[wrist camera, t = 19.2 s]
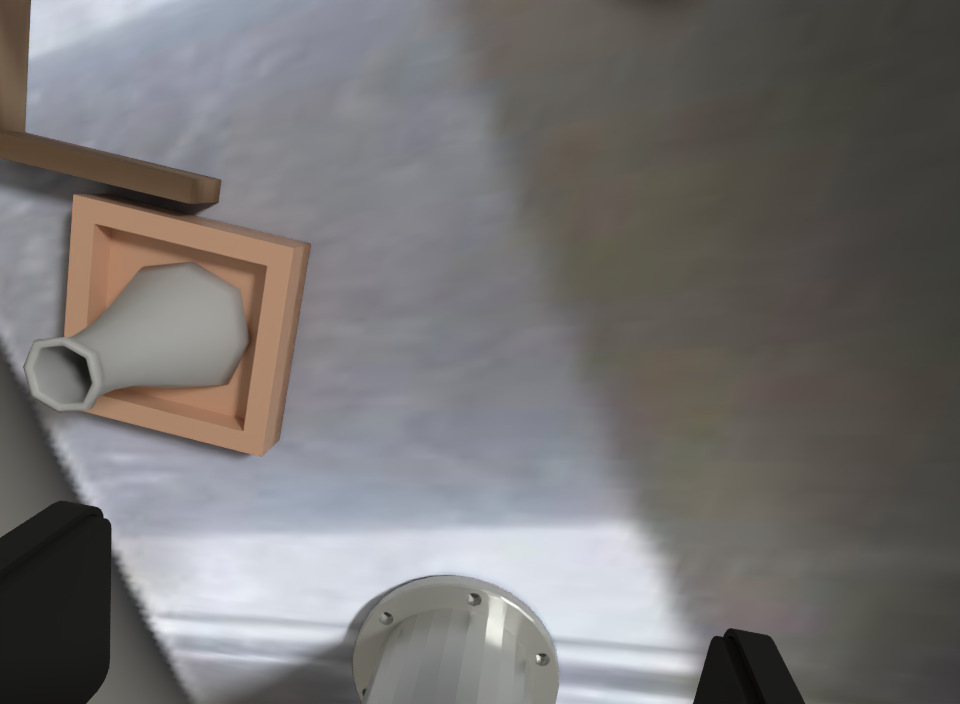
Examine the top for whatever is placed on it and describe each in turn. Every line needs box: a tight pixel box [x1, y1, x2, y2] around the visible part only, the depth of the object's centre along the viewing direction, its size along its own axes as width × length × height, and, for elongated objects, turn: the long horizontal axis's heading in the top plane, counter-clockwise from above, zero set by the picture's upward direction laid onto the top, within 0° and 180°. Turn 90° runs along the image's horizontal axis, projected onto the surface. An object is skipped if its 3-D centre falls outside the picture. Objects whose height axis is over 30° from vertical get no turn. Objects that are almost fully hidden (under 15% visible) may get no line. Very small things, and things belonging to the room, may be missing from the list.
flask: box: [23, 261, 250, 412], centre depth 32 cm, size 7×7×10 cm
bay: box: [0, 0, 221, 204], centre depth 32 cm, size 16×12×4 cm
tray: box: [64, 194, 311, 457], centre depth 36 cm, size 12×12×2 cm
